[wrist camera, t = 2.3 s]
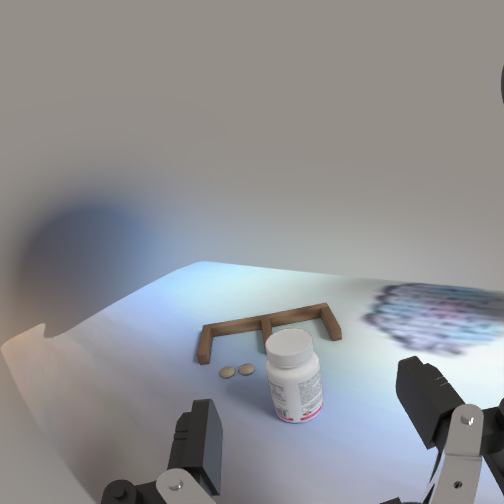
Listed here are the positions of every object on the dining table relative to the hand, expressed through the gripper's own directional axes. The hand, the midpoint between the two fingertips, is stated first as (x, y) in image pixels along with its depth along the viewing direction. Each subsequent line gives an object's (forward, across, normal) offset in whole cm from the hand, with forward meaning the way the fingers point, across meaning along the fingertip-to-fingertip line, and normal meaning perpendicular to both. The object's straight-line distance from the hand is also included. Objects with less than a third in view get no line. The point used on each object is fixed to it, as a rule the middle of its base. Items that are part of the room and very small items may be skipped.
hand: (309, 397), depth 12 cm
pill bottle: (+13, 0, +14) cm, 19 cm away
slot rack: (+26, +2, +14) cm, 29 cm away
